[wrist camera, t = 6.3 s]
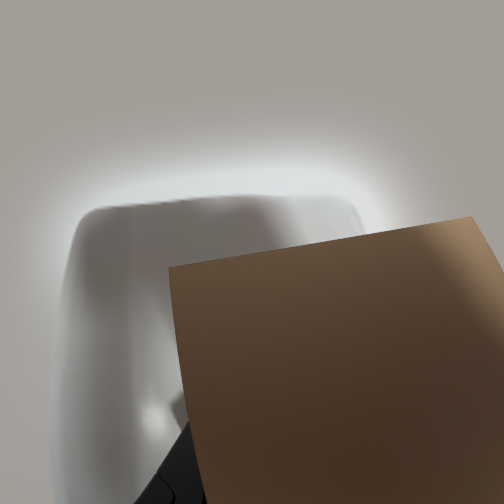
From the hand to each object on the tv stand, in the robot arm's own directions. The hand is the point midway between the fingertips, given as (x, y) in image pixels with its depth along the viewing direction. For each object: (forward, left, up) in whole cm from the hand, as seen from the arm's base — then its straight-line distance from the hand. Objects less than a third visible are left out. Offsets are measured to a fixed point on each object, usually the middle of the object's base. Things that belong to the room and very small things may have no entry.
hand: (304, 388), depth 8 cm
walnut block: (-1, -1, -7) cm, 7 cm away
